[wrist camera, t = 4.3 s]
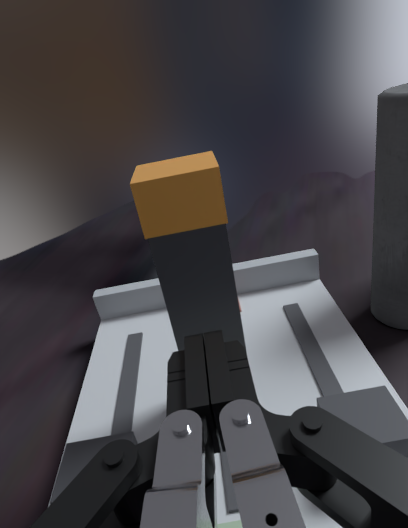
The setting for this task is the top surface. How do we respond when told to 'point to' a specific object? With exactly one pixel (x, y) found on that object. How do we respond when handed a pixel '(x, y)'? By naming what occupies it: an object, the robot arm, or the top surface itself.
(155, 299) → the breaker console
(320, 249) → the top surface
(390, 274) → the flask
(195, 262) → the handle
